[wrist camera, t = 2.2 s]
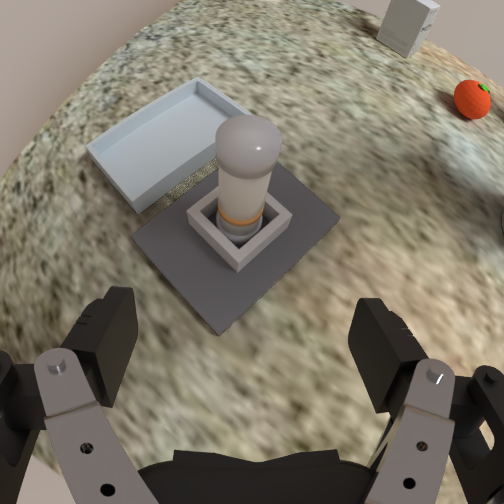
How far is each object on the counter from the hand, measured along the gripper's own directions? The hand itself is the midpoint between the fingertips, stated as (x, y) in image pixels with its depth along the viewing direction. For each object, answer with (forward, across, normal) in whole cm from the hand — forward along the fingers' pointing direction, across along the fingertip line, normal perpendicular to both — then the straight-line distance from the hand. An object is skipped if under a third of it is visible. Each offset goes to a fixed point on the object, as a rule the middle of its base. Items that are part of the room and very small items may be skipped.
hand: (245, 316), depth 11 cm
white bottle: (+19, 0, +3) cm, 19 cm away
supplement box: (+50, -29, -26) cm, 64 cm away
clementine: (+38, -38, -14) cm, 56 cm away
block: (+20, 0, +4) cm, 20 cm away
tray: (+27, +8, -4) cm, 29 cm away
